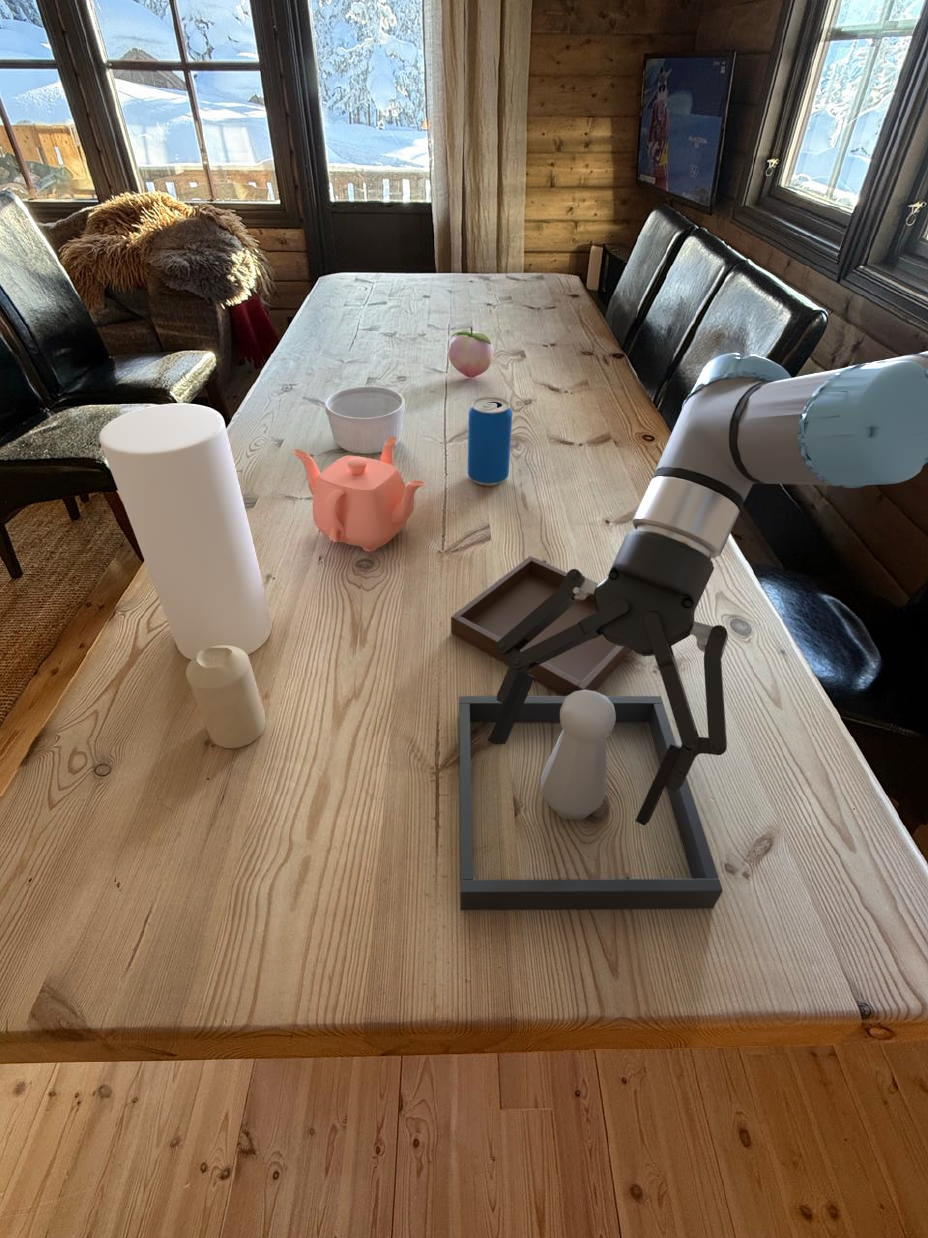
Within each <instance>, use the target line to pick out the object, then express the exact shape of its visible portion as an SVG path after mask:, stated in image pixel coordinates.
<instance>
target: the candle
mask: <svg viewBox="0 0 928 1238" xmlns="http://www.w3.org/2000/svg"><path fill="white" fill-rule="evenodd" d="M186 667H187V668H186V672H185V676H186V678H187V681H188V684H189V686H190V689H191V693H192V694H193V697H194V699H195V702H196V705H197V708H198V710H199V712H200V713H199V714H200V716H201V718H202V720H203V724H204V726H205V728H206V731H207V733H208V736H209V738H210V739H211V741H212V742H213V743H214V744H215V745H217V746H219V747H221V748H224V749H239V748H242V747H245V746H247V745H250V744H251V743H253V742H255V741H256V740H257V739H259V737H260V736H261V735H262V734H263V733H264V730H265V728H266V723H267V719H266V715H265V710H264V705H263V702H262V700H261V699H262V698H261V695H260V693H259V688H258V685H257V682H256V678H255V675H254V672H253V668H252V664H251V660H250V658H249V655H247V654H246V653H245V652H244V651H243V650H242V649H240V648H237V647H234V646H228V645H219V646H213V647H210V648H206V649H204V650H202V651H199V652H198V654H197V655H196V656H195V657H194V658H193V659H192V660H190V661H189V663H188V665H187V666H186Z"/></svg>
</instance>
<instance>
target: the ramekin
mask: <svg viewBox="0 0 928 1238" xmlns="http://www.w3.org/2000/svg"><path fill="white" fill-rule="evenodd" d="M405 410H406V404H405V398H404V397H403V395H402V394H400V393H399V392H397V391H395V390H394V389H391V388H388V387H382V386H375V385H374V386H373V385H362V386H361V385H360V386H353V387H348V388H344V389H340V390H338V391H336V392H334V393H332V394H330V395H329V396H328V397H327V398H326V399H325V401H324V411H325V414H326V415H327V418H328V422H329V426H330V430H331V434H332V437H333V439H334V442H335V443H336V444H337V445H338V446H339V447H340V448H341V449H343V450H345V451H346V452H350V453H352V454H353V453H354V454H361V455H372V454H379V453H382V451H383V448H384V445H385V443H386V442H387V440H388V439H390V438H391V437H396V443H395V445H394V447H395V446H397V444H398V442H400V440H401V438H402V435H403V428H404V427H403V426H404V413H405Z"/></svg>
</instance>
